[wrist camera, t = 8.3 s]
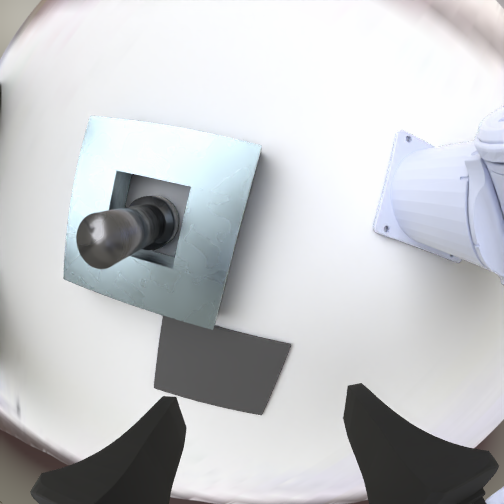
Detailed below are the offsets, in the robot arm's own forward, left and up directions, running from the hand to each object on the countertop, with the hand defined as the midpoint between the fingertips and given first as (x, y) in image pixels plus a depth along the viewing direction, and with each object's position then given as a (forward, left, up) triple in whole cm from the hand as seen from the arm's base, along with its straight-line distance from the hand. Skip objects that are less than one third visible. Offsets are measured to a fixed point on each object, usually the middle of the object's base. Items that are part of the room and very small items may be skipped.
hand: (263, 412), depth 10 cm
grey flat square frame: (+9, -5, -10) cm, 15 cm away
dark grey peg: (+9, -5, -10) cm, 15 cm away
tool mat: (+2, +6, -10) cm, 12 cm away
